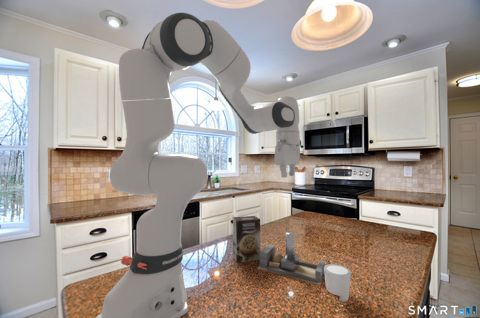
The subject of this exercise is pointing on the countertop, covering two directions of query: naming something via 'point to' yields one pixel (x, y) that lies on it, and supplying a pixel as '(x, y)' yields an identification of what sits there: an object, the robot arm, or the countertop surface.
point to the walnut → (277, 258)
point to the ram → (290, 254)
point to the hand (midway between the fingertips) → (288, 176)
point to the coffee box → (246, 238)
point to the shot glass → (338, 280)
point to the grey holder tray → (303, 272)
